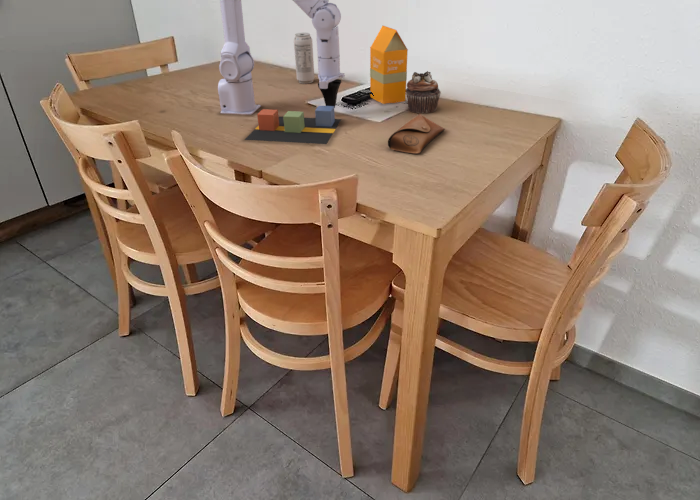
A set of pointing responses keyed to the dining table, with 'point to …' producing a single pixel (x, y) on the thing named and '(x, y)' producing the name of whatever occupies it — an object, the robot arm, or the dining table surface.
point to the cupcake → (422, 93)
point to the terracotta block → (268, 119)
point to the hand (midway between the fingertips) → (330, 108)
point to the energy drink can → (304, 58)
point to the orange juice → (388, 67)
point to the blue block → (325, 116)
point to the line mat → (306, 136)
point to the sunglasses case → (414, 135)
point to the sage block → (294, 121)
